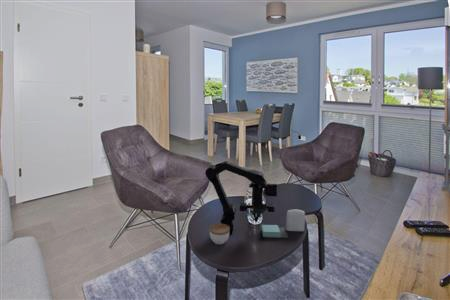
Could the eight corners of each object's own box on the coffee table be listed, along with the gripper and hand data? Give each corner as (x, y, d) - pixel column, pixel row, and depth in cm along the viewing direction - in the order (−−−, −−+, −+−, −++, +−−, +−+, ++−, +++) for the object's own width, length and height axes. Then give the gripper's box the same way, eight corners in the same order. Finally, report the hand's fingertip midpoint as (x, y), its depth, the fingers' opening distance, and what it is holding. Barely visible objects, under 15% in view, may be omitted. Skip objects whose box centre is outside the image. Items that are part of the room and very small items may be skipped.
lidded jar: (233, 239, 159) (233, 223, 157) (222, 249, 150) (223, 232, 148) (216, 234, 165) (216, 218, 162) (205, 243, 156) (205, 226, 153)
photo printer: (286, 231, 168) (287, 211, 166) (285, 227, 173) (286, 207, 170) (304, 232, 168) (306, 211, 165) (303, 228, 172) (304, 208, 169)
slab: (263, 231, 161) (280, 232, 161) (261, 224, 169) (277, 225, 169) (263, 236, 162) (279, 237, 161) (261, 229, 169) (277, 229, 169)
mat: (266, 237, 162) (266, 236, 162) (263, 227, 172) (263, 227, 172) (288, 237, 161) (288, 237, 161) (284, 228, 172) (284, 227, 172)
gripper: (240, 200, 153) (239, 228, 156) (277, 201, 153) (275, 229, 156) (239, 192, 164) (238, 218, 167) (273, 193, 163) (272, 219, 167)
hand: (255, 221), depth 164 cm, fingers closed
